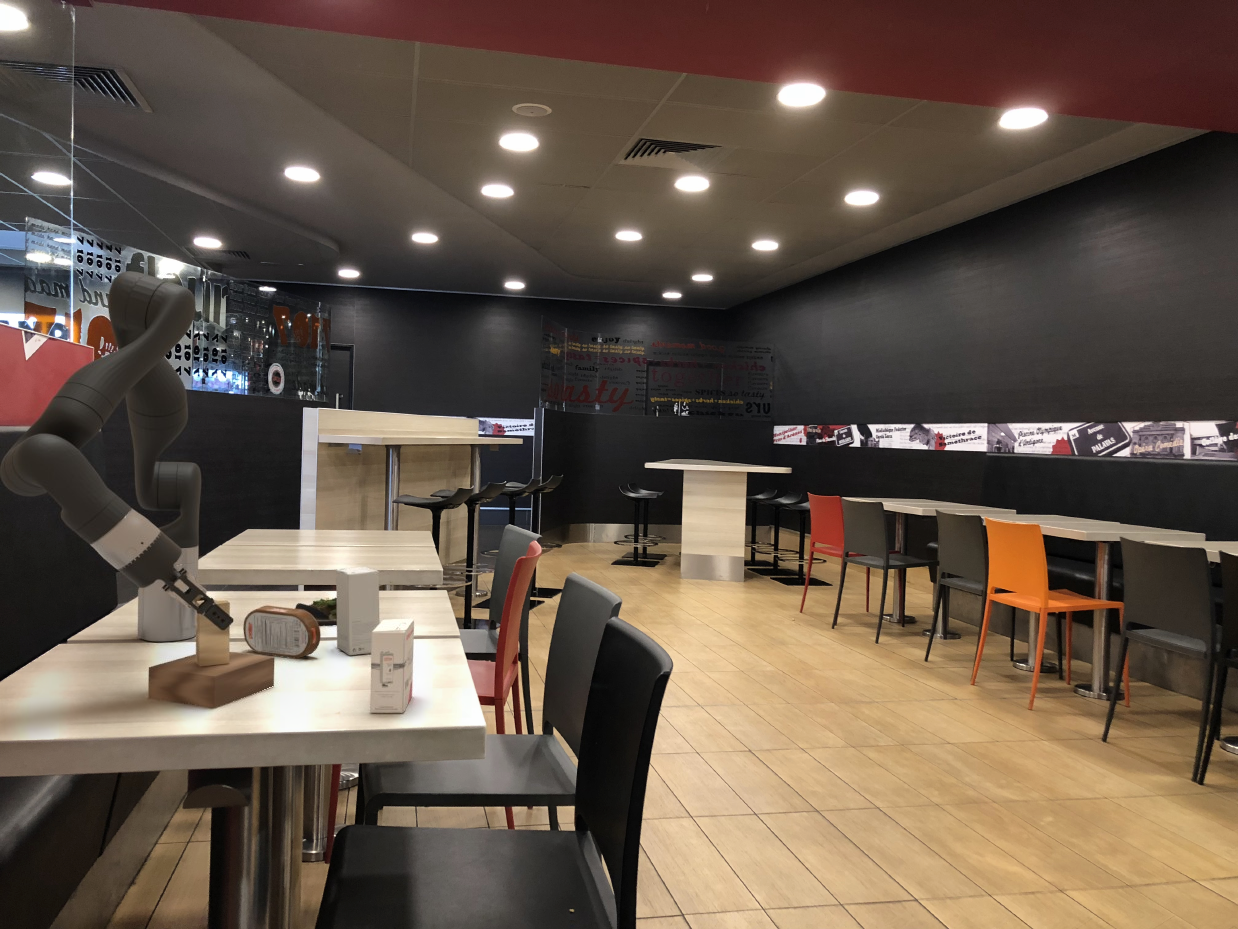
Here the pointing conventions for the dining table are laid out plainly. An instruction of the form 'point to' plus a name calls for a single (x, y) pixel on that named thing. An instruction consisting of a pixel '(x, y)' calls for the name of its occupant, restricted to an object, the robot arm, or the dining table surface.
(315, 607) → the salad plate
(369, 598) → the skincare box
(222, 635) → the oak post
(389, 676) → the ink box
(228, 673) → the walnut slab
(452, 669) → the dining table surface
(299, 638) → the tin
